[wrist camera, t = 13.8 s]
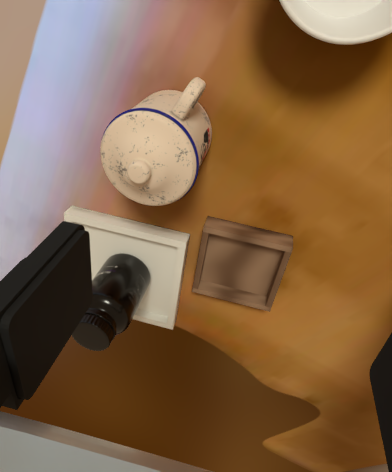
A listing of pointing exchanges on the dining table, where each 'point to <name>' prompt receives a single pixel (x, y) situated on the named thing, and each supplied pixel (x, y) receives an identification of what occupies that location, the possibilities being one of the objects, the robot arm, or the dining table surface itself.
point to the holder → (241, 263)
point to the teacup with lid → (158, 146)
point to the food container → (341, 19)
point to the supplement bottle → (112, 301)
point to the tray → (147, 250)
